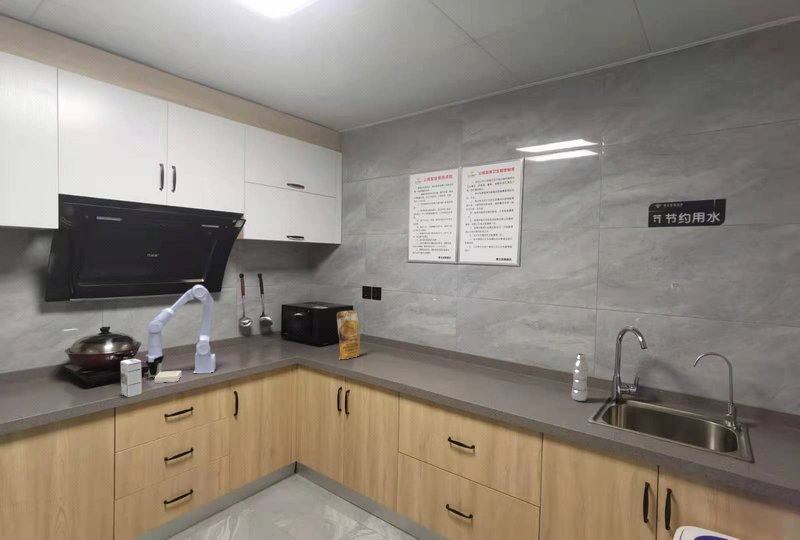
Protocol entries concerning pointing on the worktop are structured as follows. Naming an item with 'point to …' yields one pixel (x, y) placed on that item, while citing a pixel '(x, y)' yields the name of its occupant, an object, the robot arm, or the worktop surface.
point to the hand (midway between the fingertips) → (155, 373)
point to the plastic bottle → (580, 378)
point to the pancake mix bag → (348, 334)
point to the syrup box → (131, 377)
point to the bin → (167, 376)
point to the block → (159, 369)
